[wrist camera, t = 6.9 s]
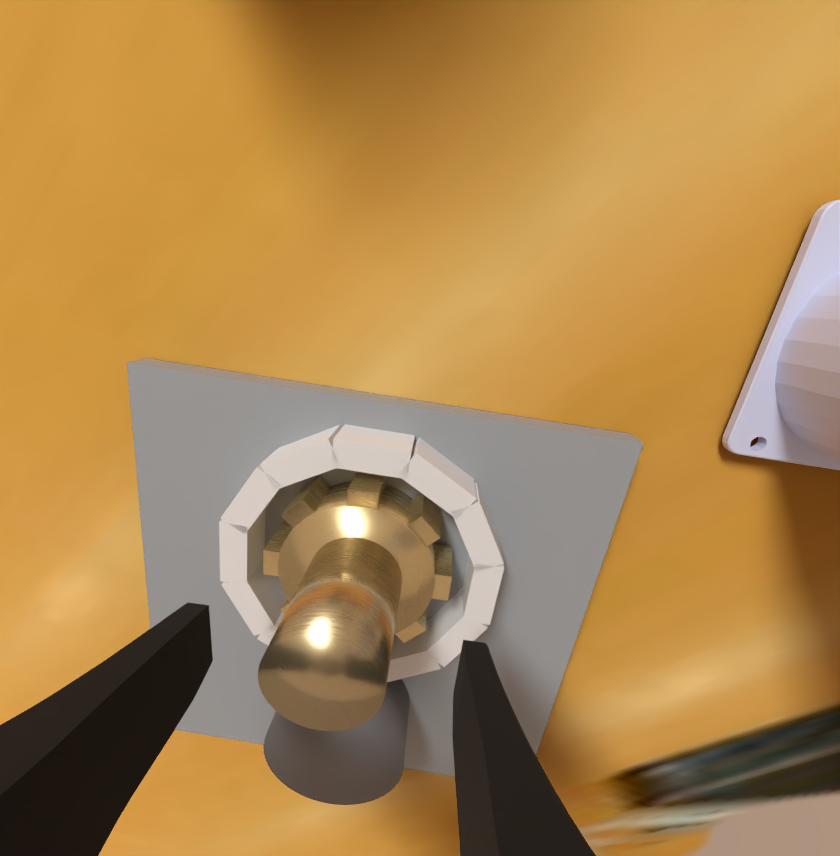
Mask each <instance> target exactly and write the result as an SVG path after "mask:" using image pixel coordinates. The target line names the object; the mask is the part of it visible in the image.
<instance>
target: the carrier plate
mask: <svg viewBox="0 0 840 856" xmlns="http://www.w3.org/2000/svg"><path fill="white" fill-rule="evenodd" d="M127 370H128V382H129V393H130V404H131V415H132V427H133V438H134V449H135V460H136V472H137V483H138V494H139V505H140V517H141V528H142V539H143V550H144V562H145V573H146V584H147V595H148V607H149V618H150V629H151V628H152V627H154V626H155V625H156V624H158V623H159V622H161V621H162V620H164V619H165V618H166V617H168V616H169V615H171V614H172V613H173V612H175V611H176V610H178V609H179V608H180V607H182V606H183V605H185V604H186V603H188V602H189V603H196V604H203V605H209V614H210V628H211V642H212V656H213V661H212V664H211V666H210V668H209V670H208V672H207V674H206V676H205V678H204V680H203V682H202V684H201V686H200V688H199V690H198V692H197V694H196V696H195V697H194V699H193V701H192V703H191V704H190V706H189V708H188V709H187V711H186V712H185V714H184V716H183V717H182V719H181V720H180V722H179V723H178V725H177V727H176V728H175V730H179V731H185V732H191V733H197V734H203V735H209V736H215V737H221V738H227V739H233V740H239V741H245V742H251V743H257V744H263V745H264V754H265V758H266V761H267V763H268V765H269V767H270V769H271V770H272V772H273V773H274V774H275V776H276V777H277V778H278V779H279V780H280V781H281V782H282V783H284V784H285V785H286V786H287V787H289V788H290V789H292V790H294V791H295V792H297V793H299V794H301V795H303V796H305V797H308V798H310V799H313V800H317V801H320V802H325V803H330V804H339V805H351V804H360V803H365V802H369V801H372V800H375V799H377V798H379V797H381V796H383V795H385V794H386V793H388V792H389V791H390V790H391V789H392V788H394V787H395V785H396V784H397V783H398V781H399V780H400V778H401V776H402V772H403V768H405V769H411V770H417V771H423V772H429V773H435V774H441V775H447V776H453V777H455V767H454V753H453V738H452V732H453V692H454V687H455V682H456V676H457V671H458V665H459V660H460V654H461V649H462V643H463V640H469V641H476V642H483V643H486V644H487V646H488V647H489V650H490V654H491V656H492V659H493V662H494V665H495V668H496V670H497V673H498V675H499V678H500V680H501V683H502V685H503V688H504V690H505V692H506V695H507V697H508V699H509V702H510V704H511V706H512V708H513V710H514V713H515V715H516V717H517V719H518V721H519V723H520V725H521V728H522V730H523V732H524V734H525V736H526V738H527V740H528V742H529V744H530V746H531V748H532V750H533V751H534V753H535V755H536V754H537V751H538V748H539V746H540V743H541V740H542V737H543V734H544V731H545V728H546V725H547V722H548V719H549V717H550V714H551V711H552V708H553V705H554V702H555V699H556V696H557V693H558V690H559V688H560V685H561V682H562V679H563V676H564V673H565V670H566V667H567V664H568V661H569V659H570V656H571V653H572V650H573V647H574V644H575V641H576V638H577V635H578V632H579V630H580V627H581V624H582V621H583V618H584V615H585V612H586V609H587V606H588V603H589V601H590V598H591V595H592V592H593V589H594V586H595V583H596V580H597V577H598V574H599V572H600V569H601V566H602V563H603V560H604V557H605V554H606V551H607V548H608V546H609V543H610V540H611V537H612V534H613V531H614V528H615V525H616V522H617V519H618V517H619V514H620V511H621V508H622V505H623V502H624V499H625V496H626V493H627V490H628V488H629V485H630V482H631V479H632V476H633V473H634V470H635V467H636V464H637V461H638V459H639V456H640V453H641V450H642V447H643V444H644V443H643V442H641V441H640V440H639V439H637V438H636V437H635V436H633V435H632V434H629V433H623V432H616V431H610V430H604V429H597V428H591V427H584V426H578V425H572V424H565V423H559V422H552V421H546V420H540V419H533V418H527V417H520V416H514V415H508V414H501V413H495V412H488V411H482V410H476V409H469V408H463V407H456V406H450V405H444V404H437V403H431V402H424V401H418V400H412V399H405V398H399V397H392V396H386V395H379V394H373V393H367V392H360V391H354V390H347V389H341V388H335V387H328V386H322V385H315V384H309V383H303V382H296V381H290V380H283V379H277V378H271V377H264V376H258V375H251V374H245V373H239V372H232V371H226V370H219V369H213V368H207V367H200V366H194V365H187V364H181V363H175V362H168V361H162V360H155V359H149V358H146V359H141V360H136V361H131V362H127ZM357 471H358V472H364V473H370V474H377V475H383V476H386V483H385V484H387V485H390V486H393V487H395V488H397V489H399V490H401V491H402V492H404V493H406V494H407V495H409V496H410V497H411V498H412V499H413V498H414V497H416V496H417V495H419V494H420V493H422V494H423V495H425V496H426V497H428V498H429V499H430V500H432V501H433V502H434V503H435V504H436V505H437V506H438V507H439V508H440V509H441V534H440V539H438V540H437V541H436V543H437V544H444V545H451V547H452V581H451V586H450V592H449V597H448V601H446V600H440V599H433V598H431V600H430V603H429V605H428V607H427V616H426V631H424V632H423V633H421V634H419V635H417V636H416V637H414V638H412V639H410V640H409V641H407V642H405V643H403V642H402V641H401V640H400V639H399V637H398V636H397V635H396V634H394V640H393V646H392V653H391V659H390V666H389V672H388V679H387V685H386V692H385V697H384V701H383V704H382V706H381V708H380V709H379V711H378V712H377V713H376V714H375V716H374V717H372V718H371V719H370V720H369V721H367V722H365V723H364V724H362V725H360V726H357V727H355V728H351V729H347V730H342V731H320V730H315V729H310V728H306V727H303V726H301V725H298V724H296V723H294V722H292V721H290V720H288V719H286V718H285V717H283V716H282V715H280V714H279V713H278V712H277V711H275V710H274V709H273V708H272V707H271V706H270V704H269V703H268V702H267V701H266V699H265V697H264V696H263V694H262V692H261V689H260V686H259V683H258V668H259V664H260V662H261V660H262V657H263V655H264V653H265V651H266V649H267V648H268V646H269V644H270V642H271V640H272V638H273V636H274V634H275V632H276V630H277V628H278V626H279V624H280V622H281V620H282V618H283V616H284V613H283V612H282V611H281V610H280V608H281V607H282V605H283V603H284V601H285V599H286V596H285V594H284V592H283V589H282V587H281V584H280V580H279V576H272V575H265V574H263V550H264V548H265V547H266V546H267V544H268V543H269V541H270V540H271V539H272V537H273V536H274V534H275V533H276V532H277V530H278V529H279V527H280V526H281V525H282V523H283V522H286V520H285V519H284V518H283V517H282V516H281V515H282V514H283V512H284V511H285V510H286V508H287V507H288V506H289V504H290V503H291V502H292V500H293V499H294V498H295V496H296V495H297V494H298V492H299V491H300V490H301V489H303V488H304V487H305V486H307V485H308V484H309V483H311V482H312V481H313V480H315V479H316V478H317V477H319V476H320V477H321V479H322V480H323V481H324V482H325V483H326V484H327V485H328V486H329V487H331V486H334V485H336V484H339V483H343V482H348V481H352V480H353V478H354V476H355V474H356V472H357Z"/></svg>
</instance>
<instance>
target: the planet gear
mask: <svg viewBox="0 0 840 856" xmlns="http://www.w3.org/2000/svg"><path fill="white" fill-rule="evenodd" d="M385 483H386V476H383V475H377V474H370V473H364V472H358V471H357V472H356V474H355V476H354V478H353V480H352V481H348V482H343V483H339V484H336V485H334V486H331V487H329V486H328V485H327V484H326V483H325V482H324V481H323V480H322V479H321V477H320V476H319V477H317V478H316V479H315V480H313V481H312V482H311V483H309V484H308V485H307V486H305V487H304V488H303V489H301V490H300V491H299V492H298V494H297V495H296V496H295V498H294V499H293V500H292V502H291V503H290V504H289V506H288V507H287V508H286V510H285V511H284V512H283V514H282V515H281V516H282V517H283V518H284V519H285V520H286V522H283V523H282V525H281V526H280V527H279V529H278V530H277V532H276V533H275V534H274V536H273V537H272V539H271V540H270V541H269V543H268V544H267V546H266V547H265V548H264V550H263V574H265V575H272V576H279V580H280V584H281V587H282V589H283V592H284V594H285V596H286V599H285V601H284V603H283V605H282V607H281V608H280V610H281V611H282V612H283V613H284V616H283V618H282V620H281V622H280V624H279V626H278V628H277V630H276V632H275V634H274V636H273V638H272V640H271V642H270V644H269V646H268V648H267V649H266V651H265V653H264V655H263V657H262V660H261V662H260V664H259V668H258V683H259V686H260V689H261V692H262V694H263V696H264V697H265V699H266V701H267V702H268V703H269V704H270V706H271V707H272V708H273V709H274V710H275V711H277V712H278V713H279V714H280V715H282V716H283V717H285V718H286V719H288V720H290V721H292V722H294V723H296V724H298V725H301V726H303V727H306V728H310V729H315V730H320V731H342V730H347V729H351V728H355V727H357V726H360V725H362V724H364V723H365V722H367V721H369V720H370V719H371V718H372V717H374V716H375V714H376V713H377V712H378V711H379V709H380V708H381V706H382V704H383V701H384V697H385V692H386V685H387V679H388V672H389V666H390V659H391V653H392V646H393V640H394V634H396V635H397V636H398V637H399V639H400V640H401V641H402V642H403V643H405V642H407V641H409V640H410V639H412V638H414V637H416V636H417V635H419V634H421V633H423V632H424V631H426V616H427V607H428V605H429V603H430V600H431V598H433V599H440V600H446V601H448V597H449V592H450V586H451V581H452V547H451V545H444V544H437V543H436V541H437V540H438V539H440V534H441V509H440V508H439V507H438V506H437V505H436V504H435V503H434V502H433V501H432V500H430V499H429V498H428V497H426V496H425V495H423V494H422V493H420V494H419V495H417V496H416V497H414V498H413V499H412V498H411V497H410V496H409V495H407V494H406V493H404V492H402V491H401V490H399V489H397V488H395V487H393V486H390V485H387V484H385Z"/></svg>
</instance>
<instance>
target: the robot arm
mask: <svg viewBox="0 0 840 856" xmlns="http://www.w3.org/2000/svg"><path fill="white" fill-rule="evenodd" d="M756 437H758V441H757V443H756V444H755V445H753V446H752V447H750V443H751V442H752V440H753V439H755V438H756ZM722 443H723V446H724V447H725V448H726V449H727V450H728V451H730V452H732V453H735V454H738V455H744V456H751V457H757V458H763V459H770V460H776V461H783V462H789V463H795V464H802V465H808V466H815V467H821V468H827V469H834V470H840V199H839V200H835V201H831V202H828V203H826V204H824V205H822V206H821V207H820V208H819V209H818V210H817V211H816V212H815V214H814V216H813V217H812V220H811V222H810V225H809V227H808V230H807V232H806V234H805V237H804V239H803V242H802V244H801V247H800V249H799V252H798V254H797V256H796V259H795V261H794V264H793V266H792V269H791V271H790V274H789V276H788V278H787V281H786V283H785V286H784V288H783V291H782V293H781V295H780V298H779V300H778V303H777V305H776V308H775V310H774V313H773V315H772V317H771V320H770V322H769V325H768V327H767V330H766V332H765V335H764V337H763V339H762V342H761V344H760V347H759V349H758V352H757V354H756V356H755V359H754V361H753V364H752V366H751V369H750V371H749V374H748V376H747V378H746V381H745V383H744V386H743V388H742V391H741V393H740V396H739V398H738V400H737V403H736V405H735V408H734V410H733V413H732V415H731V417H730V420H729V422H728V425H727V427H726V430H725V432H724V435H723V438H722ZM212 661H213V656H212V642H211V628H210V614H209V605H203V604H196V603H189V602H188V603H186V604H185V605H183V606H182V607H180V608H179V609H178V610H176V611H175V612H173V613H172V614H171V615H169V616H168V617H166V618H165V619H164V620H162V621H161V622H159V623H158V624H156V625H155V626H154V627H152V628H151V629H149V630H148V631H147V632H145V633H144V634H142V635H141V636H140V637H138V638H137V639H135V640H134V641H133V642H131V643H130V644H128V645H127V646H125V647H124V648H122V649H121V650H120V651H118V652H117V653H115V654H114V655H112V656H111V657H109V658H108V659H107V660H105V661H104V662H102V663H101V664H99V665H98V666H96V667H95V668H93V669H91V670H90V671H88V672H87V673H85V674H84V675H82V676H81V677H79V678H78V679H76V680H74V681H73V682H71V683H70V684H68V685H67V686H65V687H64V688H62V689H61V690H59V691H58V692H56V693H54V694H53V695H51V696H49V697H48V698H46V699H45V700H43V701H41V702H40V703H38V704H36V705H35V706H33V707H31V708H30V709H28V710H26V711H24V712H23V713H21V714H19V715H17V716H16V717H14V718H12V719H10V720H9V721H7V722H5V723H3V724H2V725H0V856H98V855H99V853H100V851H101V849H102V847H103V846H104V844H105V842H106V840H107V838H108V836H109V835H110V833H111V831H112V829H113V827H114V825H115V824H116V822H117V820H118V818H119V817H120V815H121V813H122V812H123V810H124V808H125V807H126V805H127V803H128V802H129V800H130V798H131V797H132V795H133V794H134V792H135V790H136V789H137V787H138V786H139V784H140V783H141V781H142V780H143V778H144V776H145V775H146V773H147V772H148V770H149V769H150V767H151V766H152V764H153V762H154V761H155V759H156V758H157V756H158V755H159V753H160V752H161V750H162V748H163V747H164V745H165V744H166V742H167V741H168V739H169V738H170V736H171V734H172V733H173V731H174V730H175V728H176V727H177V725H178V723H179V722H180V720H181V719H182V717H183V716H184V714H185V712H186V711H187V709H188V708H189V706H190V704H191V703H192V701H193V699H194V697H195V696H196V694H197V692H198V690H199V688H200V686H201V684H202V682H203V680H204V678H205V676H206V674H207V672H208V670H209V668H210V666H211V664H212ZM452 738H453V753H454V767H455V781H456V795H457V809H458V823H459V836H460V854H461V856H596V855H595V854H594V852H593V851H592V850H591V848H590V847H589V845H588V844H587V842H586V841H585V839H584V837H583V836H582V834H581V833H580V831H579V829H578V828H577V826H576V825H575V823H574V821H573V820H572V818H571V817H570V815H569V814H568V812H567V810H566V808H565V807H564V805H563V803H562V802H561V800H560V798H559V797H558V795H557V793H556V792H555V790H554V788H553V786H552V785H551V783H550V781H549V779H548V778H547V776H546V774H545V772H544V770H543V769H542V767H541V765H540V763H539V761H538V759H537V757H536V755H535V753H534V751H533V750H532V748H531V746H530V744H529V742H528V740H527V738H526V736H525V734H524V732H523V730H522V728H521V725H520V723H519V721H518V719H517V717H516V715H515V713H514V710H513V708H512V706H511V704H510V702H509V699H508V697H507V695H506V692H505V690H504V688H503V685H502V683H501V680H500V678H499V675H498V673H497V670H496V668H495V665H494V662H493V659H492V656H491V654H490V650H489V647H488V646H487V644H486V643H483V642H476V641H469V640H463V643H462V649H461V654H460V660H459V665H458V671H457V676H456V682H455V687H454V692H453V732H452Z"/></svg>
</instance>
